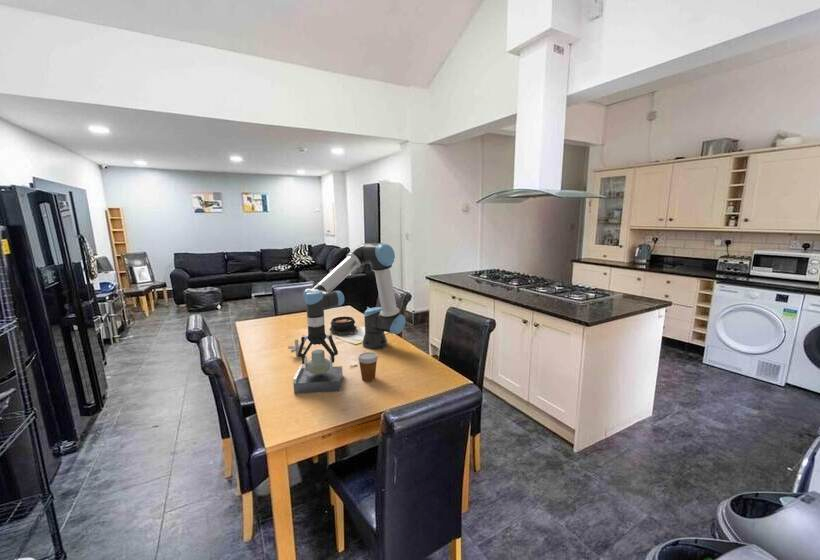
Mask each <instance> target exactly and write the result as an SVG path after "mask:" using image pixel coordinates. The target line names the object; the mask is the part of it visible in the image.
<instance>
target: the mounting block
mask: <svg viewBox="0 0 820 560" xmlns="http://www.w3.org/2000/svg"><path fill="white" fill-rule="evenodd" d="M342 380H343V366H341V365H340V366H338V365H337V366H333V368H332V370H330V368H329V370H328V371H326V372H324V373H322V374H313V373H310V372H309V371H308V370H307V371H305V367H304V364H302V363H300V365H299V367H298V368H297V371H296V372H295V375H294V376H293V379H292V382H293V393H294V395H295V394H296V395H297V394H298V393H299V394H300V395H301V394H313V393H314V394H315V393H318V392H319V393H334V392H335V391H337V392H340V391H339V390H340V389H341V385H342ZM335 393H336V392H335Z"/></svg>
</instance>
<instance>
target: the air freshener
mask: <svg viewBox="0 0 820 560" xmlns="http://www.w3.org/2000/svg"><path fill="white" fill-rule="evenodd" d="M325 357H326V355H325V351H324V350H323V349H314V350H311V359H310V360H309V361H307V370H308V371H309V372H310V373H313V374H322V373H324V372H326V371H328V370H329V368H330V359H328V358H325Z"/></svg>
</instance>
